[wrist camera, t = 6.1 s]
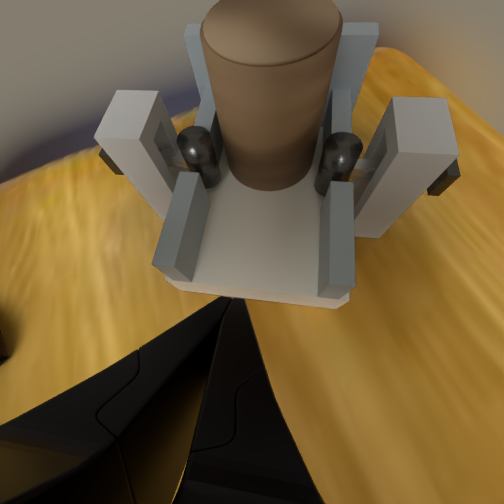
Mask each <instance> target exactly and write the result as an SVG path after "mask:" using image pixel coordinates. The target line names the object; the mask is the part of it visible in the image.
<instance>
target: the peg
mask: <svg viewBox="0 0 504 504" xmlns="http://www.w3.org/2000/svg"><path fill="white" fill-rule="evenodd" d="M342 28H343V19H342V16H341V13H340V12H339V10H338V9H337V7H336V5H335V4H334V3H333V2H332V0H220V1H219V2H218V3H216V4H215V5H214V6H213V7H212V8H211V9H210V10H209V12H208V13H207V15H206V17H205V19H204V20H203V22H202V24H201V28H200V40H201V44H202V49H203V53H204V58H205V62H206V67H207V71H208V76H209V80H210V85H211V89H212V94H213V98H214V103H215V107H216V111H217V116H218V120H219V125H220V129H221V134H222V138H223V143H224V147H225V152H226V156H227V161H228V165H229V168H230V171H231V173H232V174H233V176H234V177H235V178H236V179H237V180H238V181H239V182H240V183H242V184H243V185H245V186H247V187H249V188H252V189H255V190H260V191H278V190H283V189H286V188H289V187H291V186H293V185H295V184H297V183H298V182H299V181H301V180H302V179H303V178H304V177H305V176H306V175H307V173H308V172H309V170H310V168H311V166H312V162H313V158H314V153H315V149H316V144H317V140H318V136H319V131H320V127H321V122H322V118H323V113H324V109H325V104H326V100H327V96H328V91H329V87H330V82H331V78H332V73H333V69H334V64H335V60H336V56H337V51H338V47H339V42H340V38H341V33H342Z"/></svg>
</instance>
